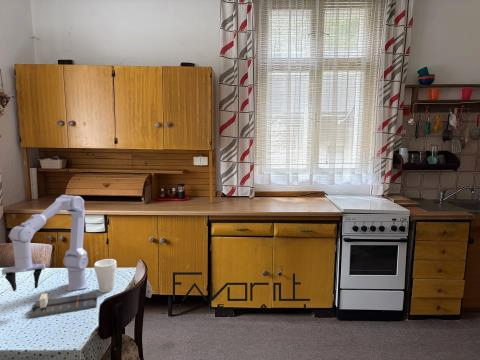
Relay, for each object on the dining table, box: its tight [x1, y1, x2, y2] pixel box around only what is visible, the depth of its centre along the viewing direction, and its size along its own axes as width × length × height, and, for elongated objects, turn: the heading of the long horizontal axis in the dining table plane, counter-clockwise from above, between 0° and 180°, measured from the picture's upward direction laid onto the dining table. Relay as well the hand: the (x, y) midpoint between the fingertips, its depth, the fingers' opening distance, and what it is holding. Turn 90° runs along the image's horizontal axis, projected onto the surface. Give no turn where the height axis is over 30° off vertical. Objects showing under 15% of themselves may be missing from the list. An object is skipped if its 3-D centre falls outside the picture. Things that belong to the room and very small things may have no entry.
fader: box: [39, 292, 49, 308], centre depth 139 cm, size 5×2×4 cm, turn 21°
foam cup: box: [94, 258, 118, 293], centre depth 156 cm, size 10×9×13 cm
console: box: [29, 291, 98, 319], centre depth 142 cm, size 12×24×2 cm, turn 111°
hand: (25, 288), depth 136 cm, fingers open, 7 cm apart
